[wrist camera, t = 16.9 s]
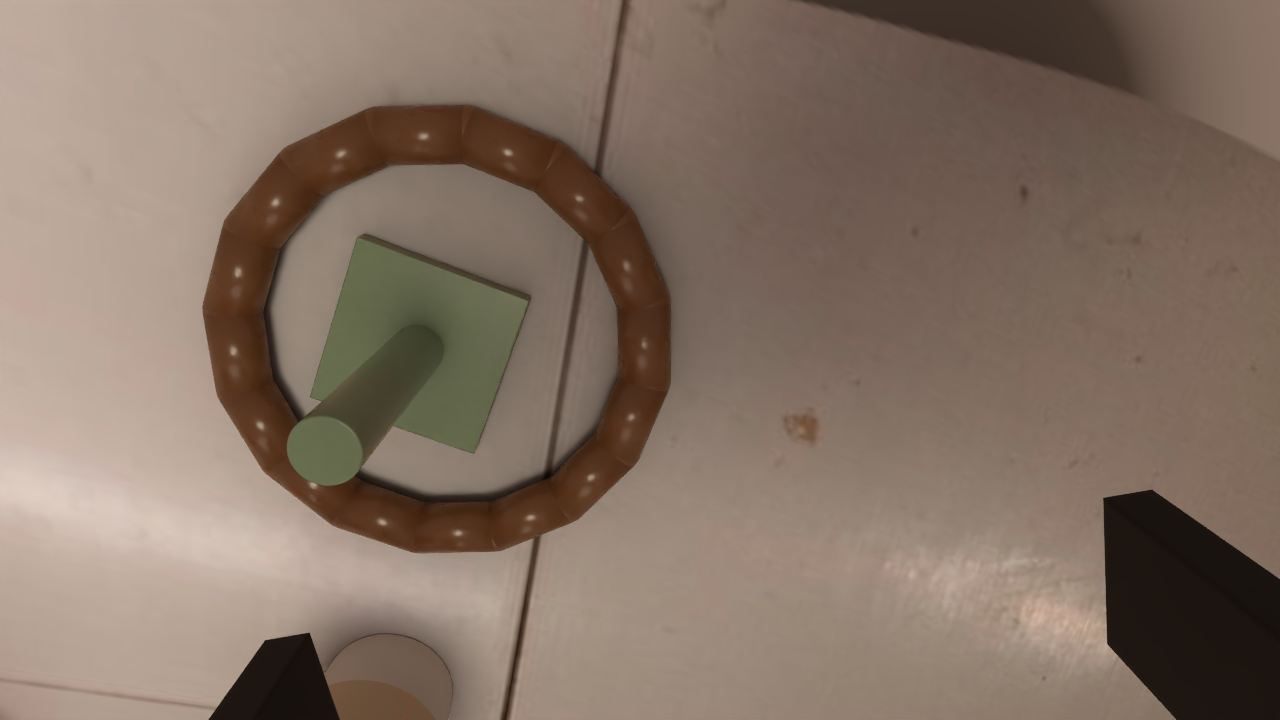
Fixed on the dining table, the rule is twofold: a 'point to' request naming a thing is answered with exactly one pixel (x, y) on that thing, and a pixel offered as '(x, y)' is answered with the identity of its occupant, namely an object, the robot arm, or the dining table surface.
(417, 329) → the post
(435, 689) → the coffee cup
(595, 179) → the ring
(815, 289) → the dining table surface
